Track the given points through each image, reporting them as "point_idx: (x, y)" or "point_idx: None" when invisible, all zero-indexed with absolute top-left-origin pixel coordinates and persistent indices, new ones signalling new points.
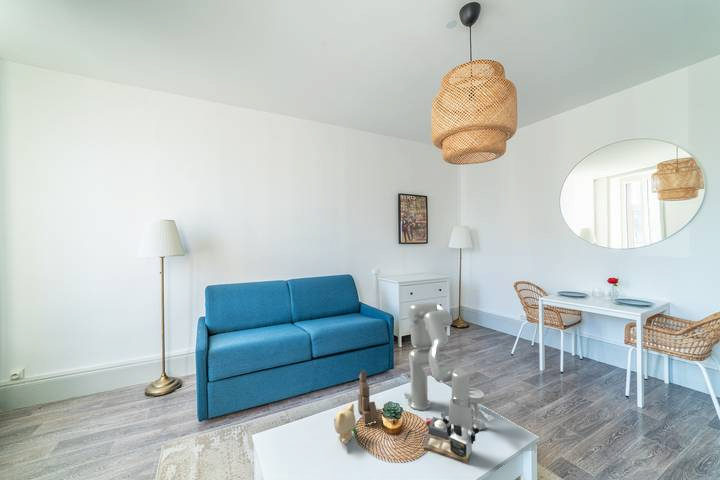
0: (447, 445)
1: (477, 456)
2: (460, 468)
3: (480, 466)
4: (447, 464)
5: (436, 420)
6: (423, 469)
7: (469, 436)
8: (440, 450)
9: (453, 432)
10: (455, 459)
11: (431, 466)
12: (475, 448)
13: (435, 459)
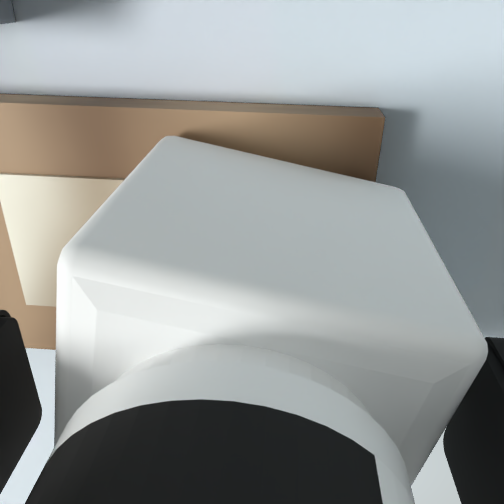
0: (66, 219)
1: (469, 183)
2: None
3: (483, 323)
4: None
5: None
6: (11, 496)
7: (433, 425)
8: (30, 324)
9: (62, 414)
10: None
11: (47, 460)
12: (459, 15)
13: (40, 390)
